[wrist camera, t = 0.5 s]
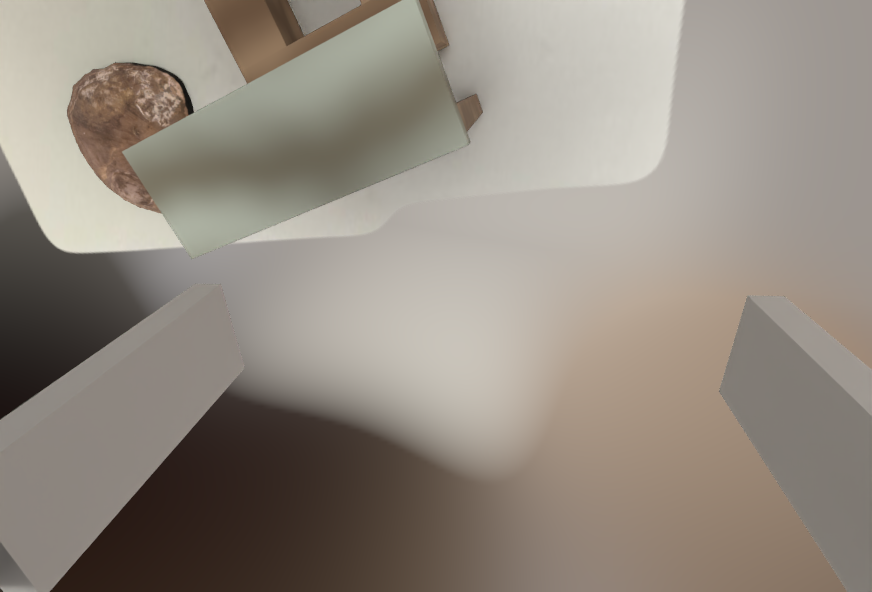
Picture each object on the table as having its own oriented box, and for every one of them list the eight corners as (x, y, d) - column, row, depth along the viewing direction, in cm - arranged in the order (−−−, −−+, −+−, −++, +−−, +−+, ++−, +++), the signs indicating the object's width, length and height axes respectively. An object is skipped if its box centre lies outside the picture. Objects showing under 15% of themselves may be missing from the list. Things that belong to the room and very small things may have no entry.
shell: (102, 202, 44) (70, 212, 41) (67, 55, 38) (26, 53, 35) (213, 219, 43) (189, 230, 40) (194, 70, 37) (164, 69, 34)
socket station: (201, -34, 33) (-59, -126, 18) (393, -162, 28) (257, -429, 13) (314, 188, 39) (191, 259, 24) (487, 114, 35) (468, 145, 20)
